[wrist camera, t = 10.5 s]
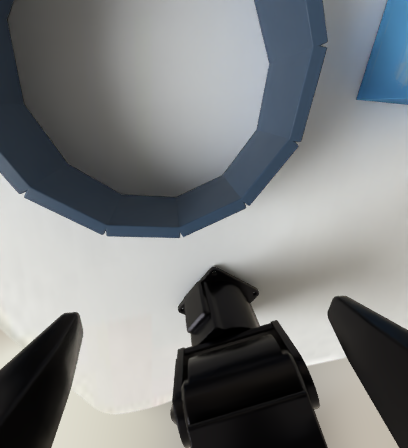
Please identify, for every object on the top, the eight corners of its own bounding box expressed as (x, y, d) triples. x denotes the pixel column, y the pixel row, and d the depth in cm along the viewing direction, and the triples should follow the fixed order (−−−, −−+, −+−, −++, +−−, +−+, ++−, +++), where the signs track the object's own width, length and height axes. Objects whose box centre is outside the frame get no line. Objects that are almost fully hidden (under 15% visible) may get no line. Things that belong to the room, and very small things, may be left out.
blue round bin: (326, 54, 17) (392, 33, 12) (184, 238, 22) (190, 277, 17) (76, -253, 10) (-7, -585, 5) (-42, 114, 15) (-140, 119, 10)
